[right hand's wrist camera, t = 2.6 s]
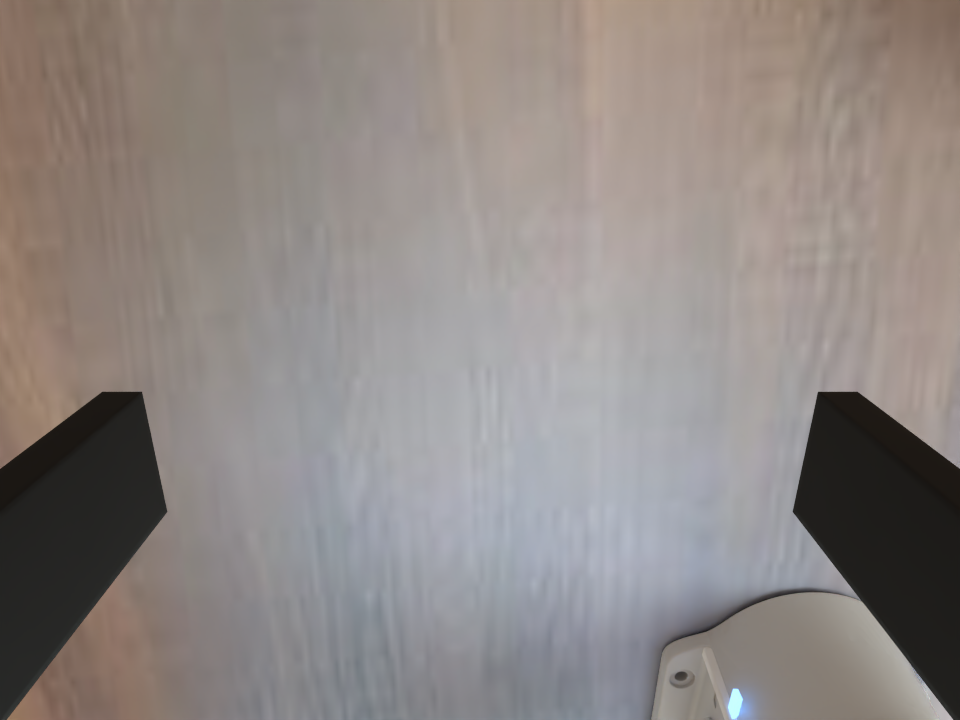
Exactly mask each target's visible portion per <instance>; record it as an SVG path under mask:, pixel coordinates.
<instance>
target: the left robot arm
mask: <svg viewBox="0 0 960 720" xmlns="http://www.w3.org/2000/svg"><path fill="white" fill-rule="evenodd" d="M651 720H940V718H939V716H938V715H937V713H936V711H935V710H934V708H933V706H932V704H931V701H930V697H929V695H928V694H927V692H926V690H925V689H924V687H923V686H922V684H921V682H920V681H919V680H918V679H917V677H916V675H915V673H914V671H913V669H912V667H911V665H910V663H909V662H908V660H907V659H906V658H905V656H904V655H903V654H902V652H901V651H900V650H899V649H898V647H897V646H896V645H895V643H894V642H893V641H892V640H891V638H890V637H889V636H888V634H887V633H886V632H885V630H884V629H883V628H882V627H881V625H880V624H879V623H878V621H877V620H876V619H875V618H874V616H873V615H872V614H871V612H870V611H869V610H868V608H867V607H866V606H865V605H864V603H863V602H862V601H859V600H857V599H854V598H851V597H847V596H843V595H839V594H833V593H823V592H805V593H795V594H788V595H783V596H779V597H775V598H771V599H768V600H765V601H762V602H759V603H757V604H754V605H752V606H750V607H748V608H746V609H744V610H742V611H740V612H738V613H737V614H735V615H733V616H732V617H730V618H729V619H727V620H726V621H724V622H723V623H721V624H720V625H718V626H716V627H715V628H713V629H711V630H709V631H707V632H703V633H699V634H695V635H692V636H688V637H685V638H682V639H679V640H676V641H674V642H672V643H670V644H669V645H668V646H666V647H665V649H664V650H663V652H662V656H661V662H660V668H659V674H658V680H657V687H656V693H655V699H654V705H653V711H652V717H651Z"/></svg>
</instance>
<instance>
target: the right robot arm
mask: <svg viewBox="0 0 960 720" xmlns="http://www.w3.org/2000/svg"><path fill="white" fill-rule="evenodd" d="M166 513H167V508H166V504H165V499H164V494H163V490H162V485H161V480H160V475H159V471H158V466H157V461H156V456H155V452H154V447H153V442H152V437H151V433H150V428H149V423H148V419H147V414H146V409H145V404H144V400H143V395H142V392H102V393H100V394H99V395H98V396H96V397H95V398H94V399H92V400H91V401H90V402H88V403H87V404H86V405H84V406H83V407H82V408H80V409H79V410H78V411H76V412H75V413H74V414H72V415H71V416H70V417H68V418H67V419H66V420H65V421H63V422H62V423H61V424H59V425H58V426H57V427H55V428H54V429H53V430H51V431H50V432H49V433H47V434H46V435H45V436H43V437H42V438H41V439H39V440H38V441H37V442H35V443H34V444H33V445H31V446H30V447H29V448H27V449H26V450H25V451H23V452H22V453H21V454H19V455H18V456H17V457H15V458H14V459H13V460H12V461H10V462H9V463H8V464H6V465H5V466H4V467H2V468H1V469H0V720H7V718H8V717H9V716H10V715H11V713H12V712H13V711H14V709H15V708H16V707H17V706H18V704H19V703H20V702H21V700H22V699H23V698H24V696H25V695H26V694H27V693H28V691H29V690H30V689H31V687H32V686H33V685H34V684H35V682H36V681H37V680H38V678H39V677H40V676H41V674H42V673H43V672H44V671H45V669H46V668H47V667H48V665H49V664H50V663H51V662H52V660H53V659H54V658H55V656H56V655H57V654H58V652H59V651H60V650H61V649H62V647H63V646H64V645H65V643H66V642H67V641H68V640H69V638H70V637H71V636H72V634H73V633H74V632H75V630H76V629H77V628H78V627H79V625H80V624H81V623H82V621H83V620H84V619H85V618H86V616H87V615H88V614H89V612H90V611H91V610H92V608H93V607H94V606H95V605H96V603H97V602H98V601H99V599H100V598H101V597H102V596H103V594H104V593H105V592H106V590H107V589H108V588H109V586H110V585H111V584H112V583H113V581H114V580H115V579H116V577H117V576H118V575H119V574H120V572H121V571H122V570H123V568H124V567H125V566H126V564H127V563H128V562H129V561H130V559H131V558H132V557H133V555H134V554H135V553H136V552H137V550H138V549H139V548H140V546H141V545H142V544H143V542H144V541H145V540H146V539H147V537H148V536H149V535H150V533H151V532H152V531H153V530H154V528H155V527H156V526H157V524H158V523H159V522H160V520H161V519H162V518H163V517H164V515H165V514H166ZM793 513H794V514H795V515H796V517H797V518H798V519H799V520H800V522H801V523H802V524H803V526H804V527H805V528H806V530H807V531H808V532H809V533H810V535H811V536H812V537H813V539H814V540H815V541H816V542H817V544H818V545H819V546H820V548H821V549H822V550H823V552H824V553H825V554H826V555H827V557H828V558H829V559H830V561H831V562H832V563H833V564H834V566H835V567H836V568H837V570H838V571H839V572H840V574H841V575H842V576H843V577H844V579H845V580H846V581H847V583H848V584H849V585H850V586H851V588H852V589H853V590H854V592H855V593H856V594H857V596H858V597H859V598H860V599H861V601H862V602H863V603H864V605H865V606H866V607H867V608H868V610H869V611H870V612H871V614H872V615H873V616H874V618H875V619H876V620H877V621H878V623H879V624H880V625H881V627H882V628H883V629H884V630H885V632H886V633H887V634H888V636H889V637H890V638H891V640H892V641H893V642H894V643H895V645H896V646H897V647H898V649H899V650H900V651H901V652H902V654H903V655H904V656H905V658H906V659H907V660H908V662H909V663H910V664H911V665H912V667H913V668H914V669H915V671H916V672H917V673H918V674H919V676H920V677H921V678H922V680H923V681H924V682H925V684H926V685H927V686H928V687H929V689H930V690H931V691H932V693H933V694H934V695H935V696H936V698H937V699H938V700H939V702H940V703H941V704H942V706H943V707H944V708H945V709H946V711H947V712H948V713H949V715H950V716H951V717H952V718H953V720H960V469H959V468H958V467H956V466H955V465H954V464H952V463H951V462H950V461H948V460H947V459H946V458H945V457H943V456H942V455H941V454H939V453H938V452H937V451H935V450H934V449H933V448H931V447H930V446H929V445H927V444H926V443H925V442H923V441H922V440H921V439H919V438H918V437H917V436H915V435H914V434H913V433H911V432H910V431H909V430H907V429H906V428H905V427H903V426H902V425H901V424H899V423H898V422H897V421H895V420H894V419H893V418H892V417H890V416H889V415H888V414H886V413H885V412H884V411H882V410H881V409H880V408H878V407H877V406H876V405H874V404H873V403H872V402H870V401H869V400H868V399H866V398H865V397H864V396H862V395H861V394H860V393H858V392H818V395H817V400H816V404H815V409H814V414H813V419H812V423H811V428H810V433H809V437H808V442H807V447H806V452H805V456H804V461H803V466H802V471H801V475H800V480H799V485H798V490H797V494H796V499H795V504H794V508H793Z"/></svg>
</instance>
